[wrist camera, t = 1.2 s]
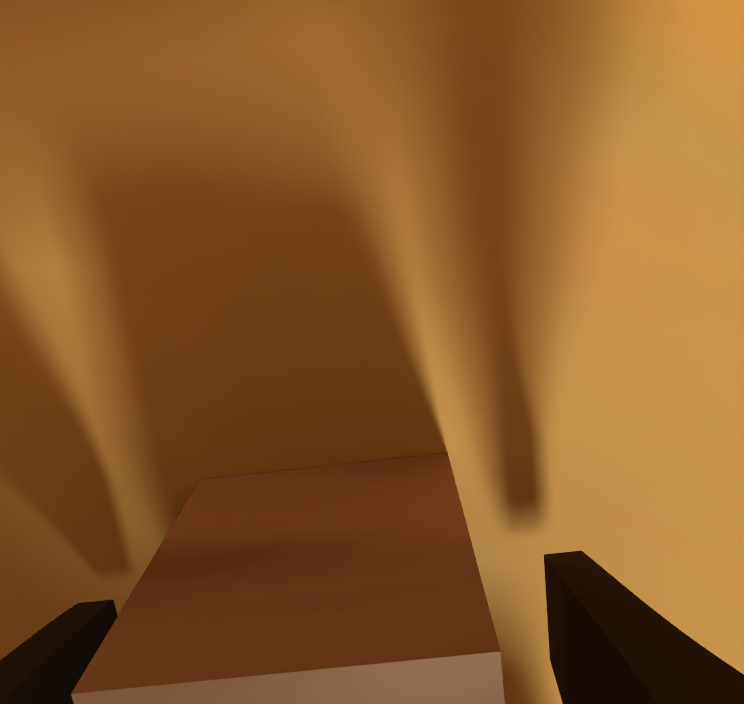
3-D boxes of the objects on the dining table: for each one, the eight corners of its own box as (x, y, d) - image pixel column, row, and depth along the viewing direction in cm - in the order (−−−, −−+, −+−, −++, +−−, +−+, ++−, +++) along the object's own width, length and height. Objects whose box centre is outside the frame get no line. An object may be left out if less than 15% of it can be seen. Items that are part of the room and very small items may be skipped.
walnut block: (468, 660, 12) (527, 965, 8) (243, 682, 13) (160, 993, 8) (447, 451, 11) (500, 650, 6) (200, 478, 11) (70, 693, 7)
